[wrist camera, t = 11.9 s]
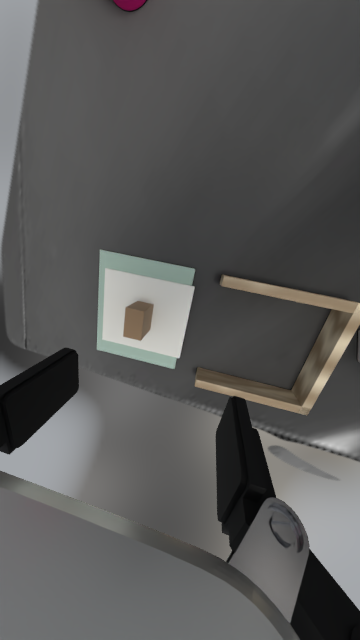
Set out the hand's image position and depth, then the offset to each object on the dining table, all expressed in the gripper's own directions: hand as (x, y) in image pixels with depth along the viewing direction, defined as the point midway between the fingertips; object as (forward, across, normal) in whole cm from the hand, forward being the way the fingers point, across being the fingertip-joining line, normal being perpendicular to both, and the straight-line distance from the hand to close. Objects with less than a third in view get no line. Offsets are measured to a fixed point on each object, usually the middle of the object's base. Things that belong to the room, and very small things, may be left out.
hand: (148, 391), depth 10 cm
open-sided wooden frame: (+22, -14, +4) cm, 27 cm away
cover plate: (+22, +8, +4) cm, 23 cm away
